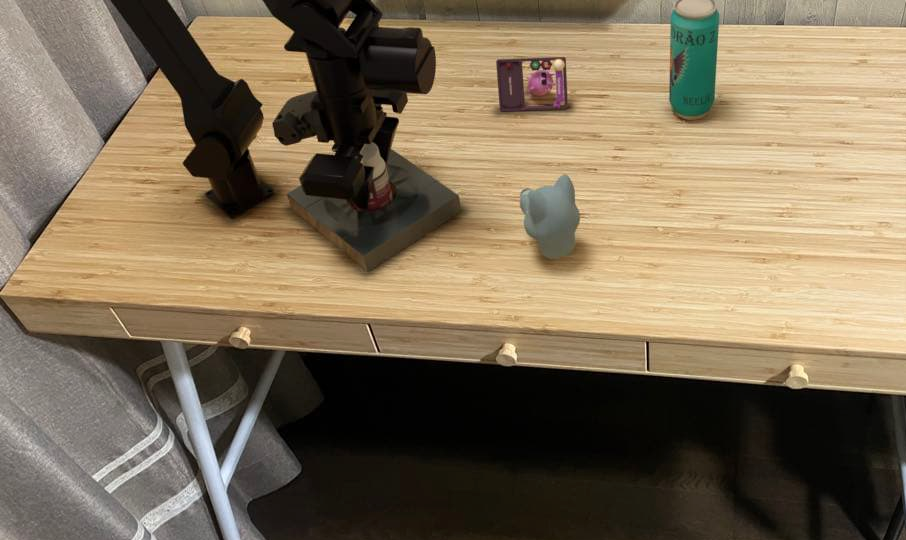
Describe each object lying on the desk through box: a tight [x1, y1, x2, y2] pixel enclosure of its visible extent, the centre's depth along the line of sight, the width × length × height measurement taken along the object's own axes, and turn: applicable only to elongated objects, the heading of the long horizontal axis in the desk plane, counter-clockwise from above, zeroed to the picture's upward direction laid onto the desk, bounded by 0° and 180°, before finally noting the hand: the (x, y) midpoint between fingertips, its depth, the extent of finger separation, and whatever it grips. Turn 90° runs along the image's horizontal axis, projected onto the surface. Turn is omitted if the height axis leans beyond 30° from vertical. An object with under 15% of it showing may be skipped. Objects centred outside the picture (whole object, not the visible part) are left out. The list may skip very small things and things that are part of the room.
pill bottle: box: [353, 142, 395, 212], centre depth 118 cm, size 5×5×8 cm
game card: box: [495, 56, 569, 112], centre depth 133 cm, size 7×5×9 cm
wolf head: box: [519, 173, 581, 260], centre depth 112 cm, size 6×9×10 cm
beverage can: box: [668, 0, 720, 121], centre depth 125 cm, size 6×6×15 cm
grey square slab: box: [285, 148, 462, 272], centre depth 121 cm, size 16×14×2 cm
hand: (370, 193), depth 120 cm, fingers closed on pill bottle, 5 cm apart
